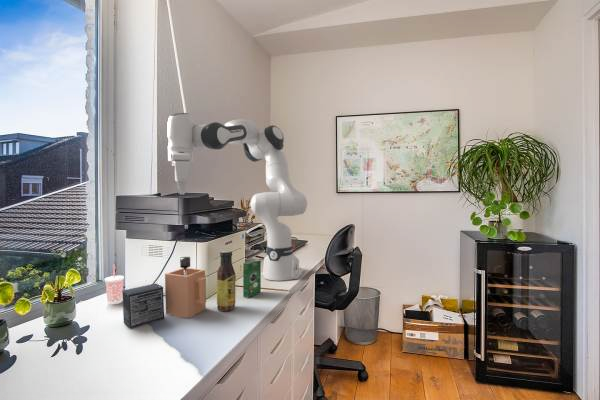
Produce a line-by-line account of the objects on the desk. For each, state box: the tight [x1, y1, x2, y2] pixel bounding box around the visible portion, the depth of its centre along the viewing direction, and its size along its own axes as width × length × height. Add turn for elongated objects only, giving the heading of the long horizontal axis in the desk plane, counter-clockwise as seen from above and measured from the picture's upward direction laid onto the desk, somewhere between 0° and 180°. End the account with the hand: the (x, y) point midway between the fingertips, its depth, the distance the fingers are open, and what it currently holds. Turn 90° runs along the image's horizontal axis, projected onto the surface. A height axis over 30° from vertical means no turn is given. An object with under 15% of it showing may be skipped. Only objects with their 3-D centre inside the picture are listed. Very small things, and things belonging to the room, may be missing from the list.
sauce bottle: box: [216, 250, 236, 312], centre depth 114 cm, size 7×6×20 cm
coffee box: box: [242, 259, 262, 299], centre depth 128 cm, size 8×3×13 cm, turn 151°
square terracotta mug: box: [164, 267, 207, 319], centre depth 111 cm, size 9×12×14 cm
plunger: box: [179, 256, 191, 276], centre depth 111 cm, size 7×7×17 cm
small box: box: [122, 282, 165, 329], centre depth 104 cm, size 11×6×10 cm, turn 134°
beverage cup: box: [104, 263, 125, 305], centre depth 120 cm, size 6×6×14 cm
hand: (181, 194), depth 124 cm, fingers open, 8 cm apart
